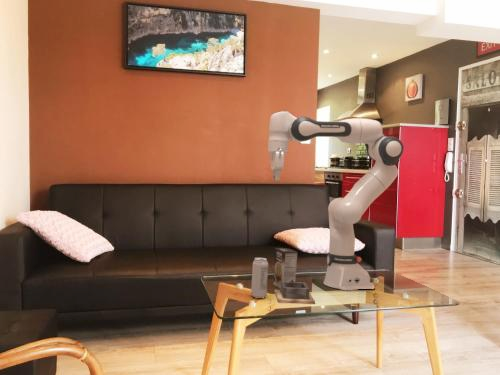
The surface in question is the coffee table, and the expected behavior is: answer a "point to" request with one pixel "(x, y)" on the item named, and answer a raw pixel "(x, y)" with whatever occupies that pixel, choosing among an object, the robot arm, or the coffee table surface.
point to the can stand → (294, 293)
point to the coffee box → (284, 266)
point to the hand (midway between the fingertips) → (276, 180)
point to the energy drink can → (259, 277)
